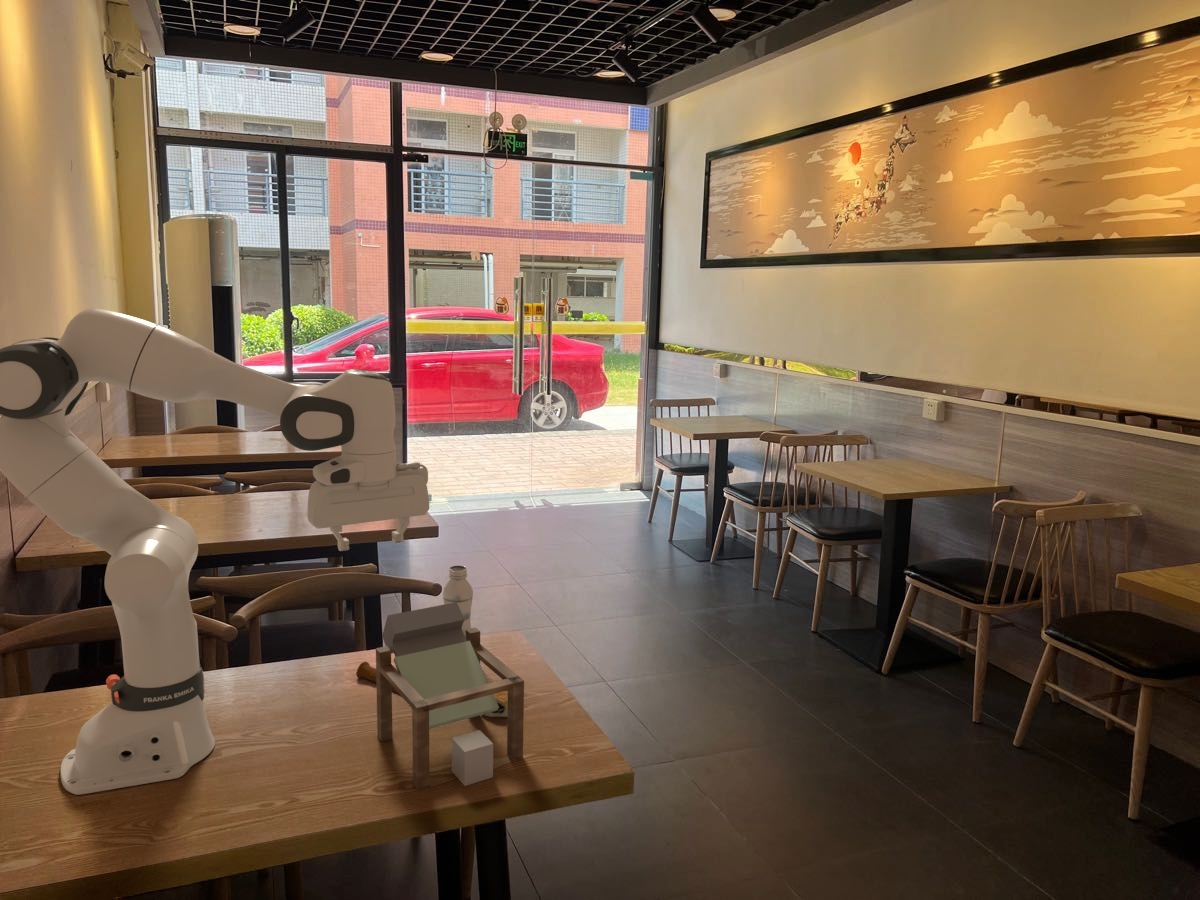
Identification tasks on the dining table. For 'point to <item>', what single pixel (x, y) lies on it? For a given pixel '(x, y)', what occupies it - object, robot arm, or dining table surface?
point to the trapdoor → (437, 659)
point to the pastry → (500, 705)
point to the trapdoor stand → (446, 704)
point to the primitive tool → (368, 673)
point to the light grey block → (472, 757)
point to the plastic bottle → (459, 593)
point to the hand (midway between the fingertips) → (371, 545)
